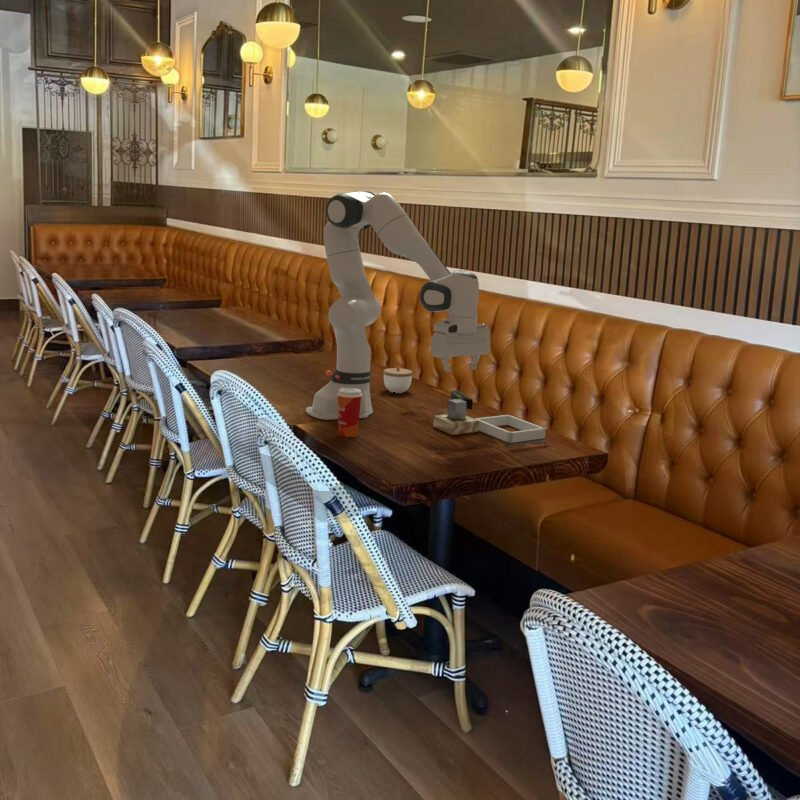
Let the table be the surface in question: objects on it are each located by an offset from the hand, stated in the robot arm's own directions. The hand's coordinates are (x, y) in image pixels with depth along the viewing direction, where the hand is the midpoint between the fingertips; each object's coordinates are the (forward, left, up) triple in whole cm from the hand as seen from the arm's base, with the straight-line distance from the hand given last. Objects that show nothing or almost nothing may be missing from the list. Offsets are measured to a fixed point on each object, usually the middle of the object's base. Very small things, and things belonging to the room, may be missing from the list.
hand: (460, 370), depth 267 cm
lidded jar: (+14, +57, -21) cm, 62 cm away
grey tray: (+13, -10, -20) cm, 26 cm away
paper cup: (-32, +11, -21) cm, 40 cm away
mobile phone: (+22, +29, -21) cm, 42 cm away
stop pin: (0, 0, -19) cm, 19 cm away
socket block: (0, 0, -20) cm, 20 cm away
